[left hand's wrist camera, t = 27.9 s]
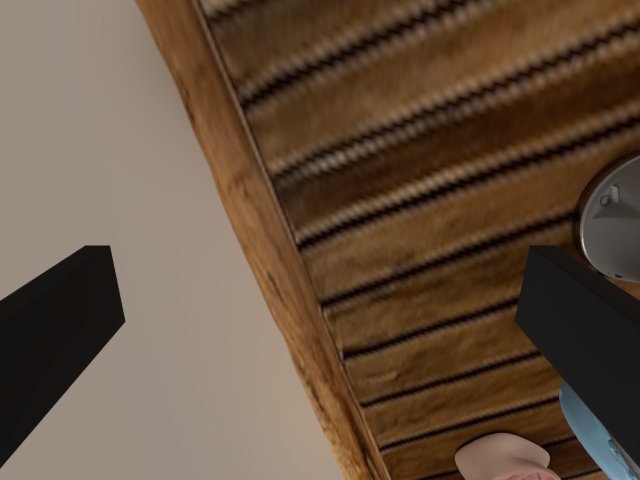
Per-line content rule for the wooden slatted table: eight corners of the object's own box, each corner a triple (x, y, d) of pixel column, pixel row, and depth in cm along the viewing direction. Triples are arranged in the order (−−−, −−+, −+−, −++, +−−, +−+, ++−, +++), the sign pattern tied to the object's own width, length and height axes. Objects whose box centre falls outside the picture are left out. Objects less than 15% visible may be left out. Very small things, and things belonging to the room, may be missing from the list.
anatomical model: (449, 488, 55) (511, 440, 52) (441, 463, 59) (498, 416, 55) (513, 528, 58) (575, 484, 55) (501, 501, 61) (559, 459, 58)
